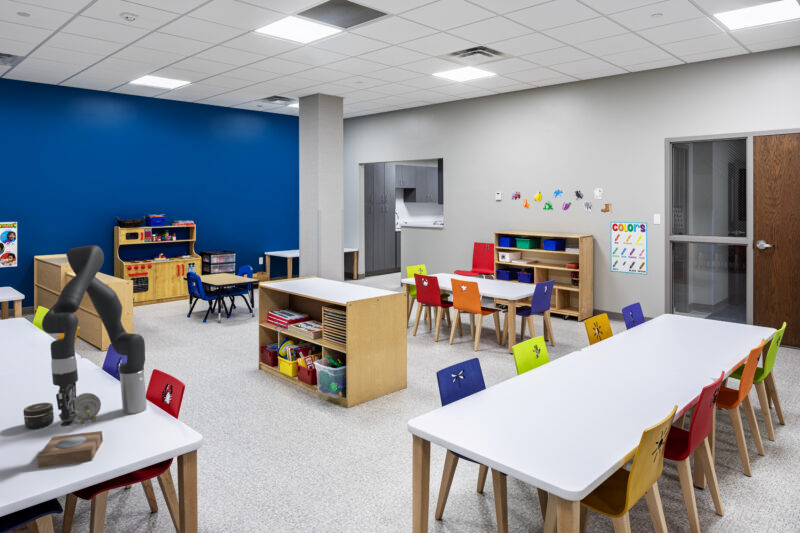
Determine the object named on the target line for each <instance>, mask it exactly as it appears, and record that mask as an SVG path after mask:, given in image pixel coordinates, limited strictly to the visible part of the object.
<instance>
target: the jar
mask: <svg viewBox="0 0 800 533" xmlns="http://www.w3.org/2000/svg"><path fill="white" fill-rule="evenodd" d="M22 412H23V415H22V416H23V420H24V426H25V428H27V429H28V430H39V429H43V428H47V427H49V426H51V425H52V424H53V423H54V419H55V416H54V415H55V414H54V405H53V403H51V402H40V403H39V402H38V403H33V404H31V405H28V406H26V407H24V408H23V411H22Z"/></svg>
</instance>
